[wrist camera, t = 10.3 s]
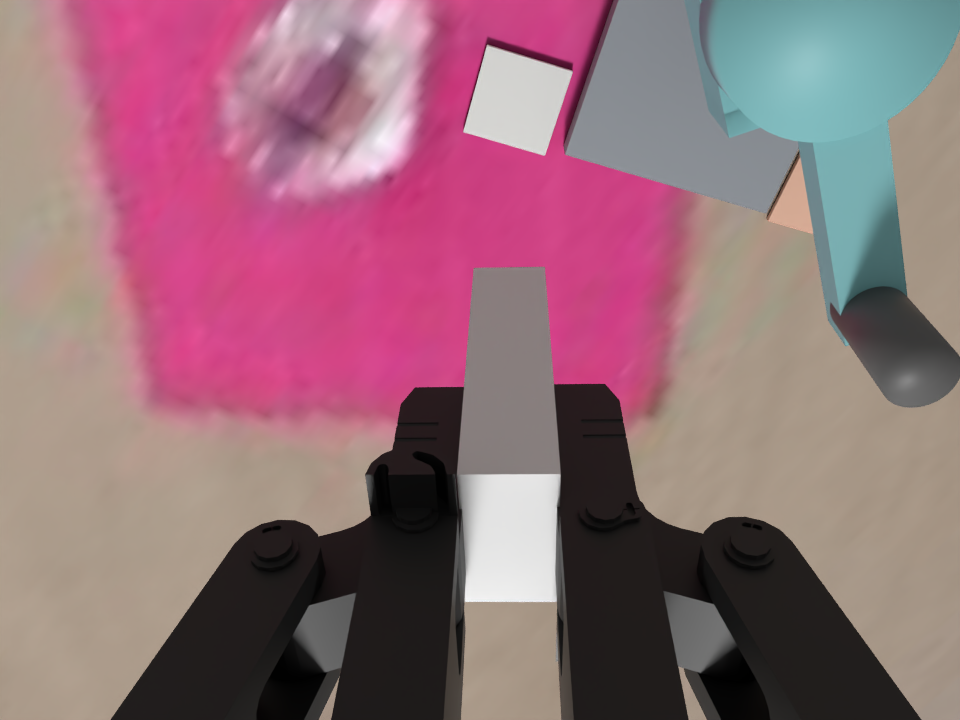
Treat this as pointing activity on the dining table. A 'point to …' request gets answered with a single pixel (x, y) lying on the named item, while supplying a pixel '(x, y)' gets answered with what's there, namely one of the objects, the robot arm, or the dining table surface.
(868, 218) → the crank handle
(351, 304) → the dining table surface
